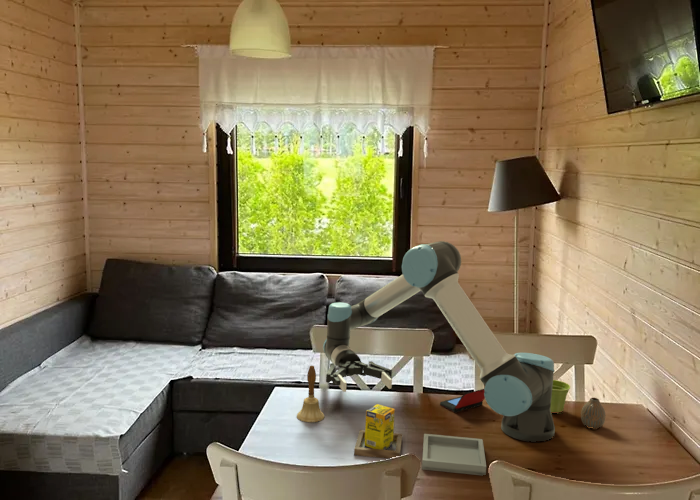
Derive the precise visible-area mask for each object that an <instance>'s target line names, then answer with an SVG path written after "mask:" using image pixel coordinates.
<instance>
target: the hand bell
mask: <svg viewBox="0 0 700 500" xmlns="http://www.w3.org/2000/svg"><path fill="white" fill-rule="evenodd" d="M306 376H307V377H306V378H307V385H308V397H305V398H304V399H303V404H302V407H301V410H300V411H298V413H297V414H296V418H297V419H298V420H299V421H300V422H304V423H318V421H319V422H321V421H324V419H325V414H324V413H323V412H322V411H321V408H320V402H319V399H318V398H317V397H315V384H316V379H317V372H316V369H315V365H309V367H308V372H307V375H306Z"/></svg>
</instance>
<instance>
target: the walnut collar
mask: <svg viewBox="0 0 700 500" xmlns="http://www.w3.org/2000/svg"><path fill="white" fill-rule="evenodd" d="M364 439H365V429H359V432H358V435H357V438H356V442H355V445H354V449H353V450H354V451H353V456H357V455H358V456H357V457H367V458H377V459H388V458H392V457H396V456H401V449H402V443H403V433H399V432H398V433H395V432H394V433H393V442H396V444H395V445H396V446H395V450H391V449H388V450H382V449H372V448H364V447H363V446H362V444H363V440H364ZM388 460H389V459H388Z"/></svg>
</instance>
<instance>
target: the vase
mask: <svg viewBox="0 0 700 500" xmlns="http://www.w3.org/2000/svg"><path fill="white" fill-rule="evenodd" d="M580 419H581V422H582V424H583V426H585V425H586V426H588V427H593V428H599V427H600V428H602V427H603V426H604V424H605V421H606V409H605V408H604V406H603V405H602V403H601V401H600V399H599V398H597V397H590V399H589V400H588V401H587V402H586V403H585V404H584V405H583V407H582V409H581V411H580ZM586 426H585V427H586ZM600 428H599V429H600Z"/></svg>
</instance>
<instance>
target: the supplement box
mask: <svg viewBox="0 0 700 500" xmlns="http://www.w3.org/2000/svg"><path fill="white" fill-rule="evenodd" d="M395 412H396V409H395V408H393V407H389V406H385V405H382V404H378V403H376V404H375V405H374V406H372V407H370V408H368V409H366V410H365V426H364V427H365V429H364V430H365V438H364V445H363V448H372V449H382V450H390V449H391V448H392V447H393V446H394V441H393V433H395V431H394V430H395V429H394V428H395Z"/></svg>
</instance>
